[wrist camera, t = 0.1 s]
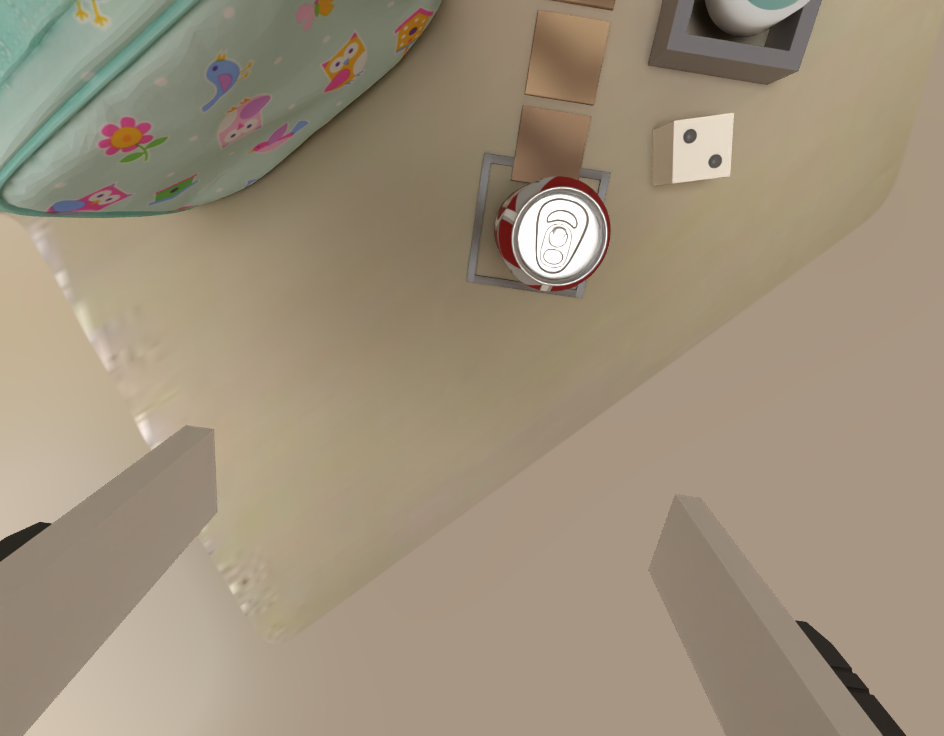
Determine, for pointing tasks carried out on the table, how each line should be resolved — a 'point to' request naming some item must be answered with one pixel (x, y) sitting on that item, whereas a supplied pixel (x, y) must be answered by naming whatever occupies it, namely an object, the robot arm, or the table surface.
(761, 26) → the dome
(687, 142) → the die
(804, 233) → the table surface
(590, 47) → the track
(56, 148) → the lunch box
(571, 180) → the soda can
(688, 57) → the dome housing
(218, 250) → the table surface
